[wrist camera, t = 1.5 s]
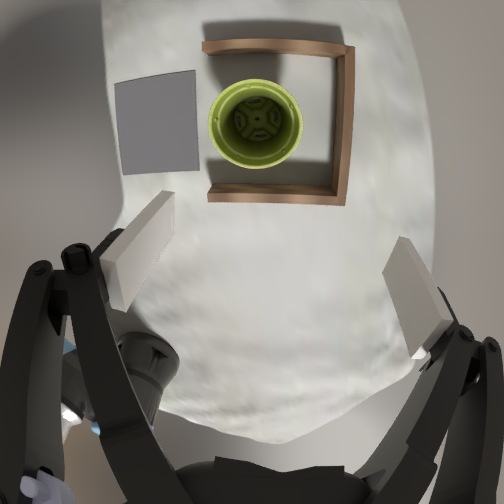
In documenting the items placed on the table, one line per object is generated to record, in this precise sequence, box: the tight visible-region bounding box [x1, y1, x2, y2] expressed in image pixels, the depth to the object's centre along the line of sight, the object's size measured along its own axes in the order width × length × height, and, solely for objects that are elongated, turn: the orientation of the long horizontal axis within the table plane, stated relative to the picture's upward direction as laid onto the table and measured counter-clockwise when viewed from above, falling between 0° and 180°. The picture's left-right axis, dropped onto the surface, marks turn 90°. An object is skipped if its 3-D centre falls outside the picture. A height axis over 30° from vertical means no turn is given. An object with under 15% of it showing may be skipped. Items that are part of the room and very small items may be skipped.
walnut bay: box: [202, 39, 355, 206], centre depth 31 cm, size 17×20×4 cm
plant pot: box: [208, 79, 303, 169], centre depth 29 cm, size 9×9×9 cm
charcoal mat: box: [114, 71, 200, 175], centre depth 34 cm, size 12×14×1 cm
